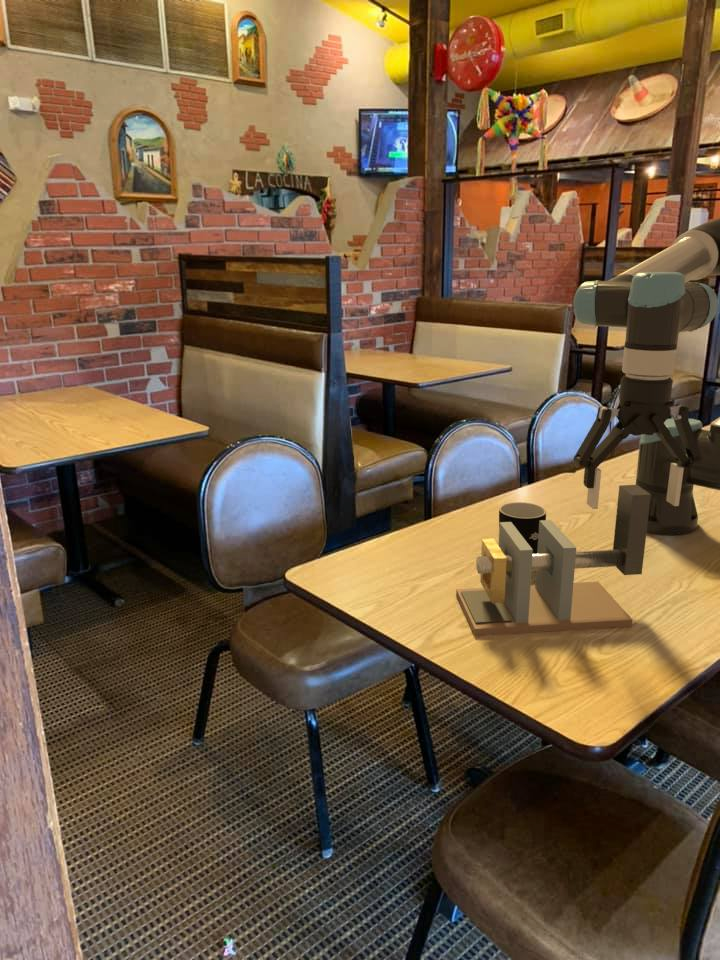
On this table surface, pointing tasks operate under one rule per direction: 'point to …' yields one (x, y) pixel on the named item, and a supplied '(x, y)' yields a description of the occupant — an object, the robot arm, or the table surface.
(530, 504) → the mug
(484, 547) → the ring
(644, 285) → the robot arm
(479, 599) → the bearing block
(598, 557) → the shaft
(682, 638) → the table surface
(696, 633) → the table surface
